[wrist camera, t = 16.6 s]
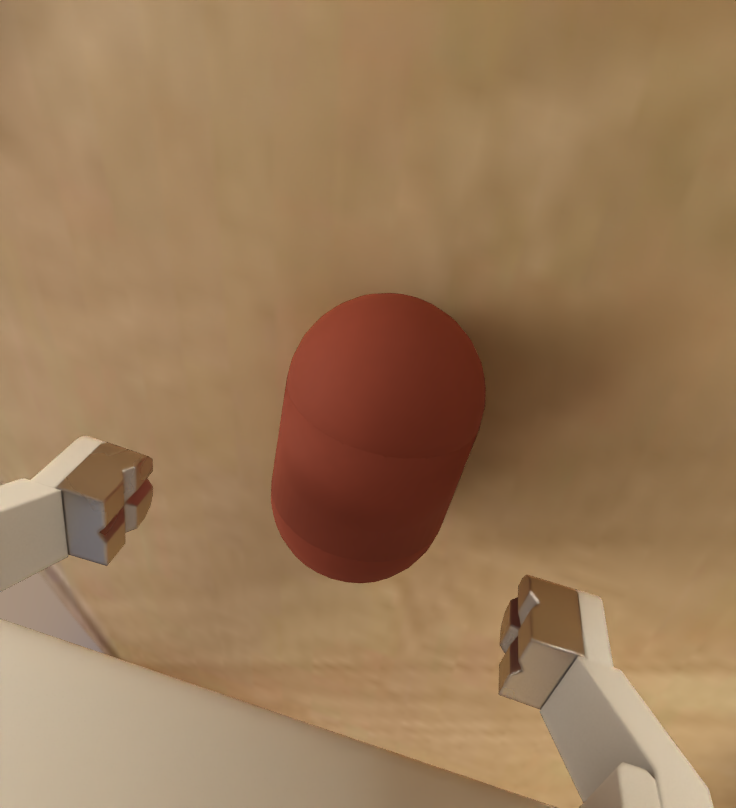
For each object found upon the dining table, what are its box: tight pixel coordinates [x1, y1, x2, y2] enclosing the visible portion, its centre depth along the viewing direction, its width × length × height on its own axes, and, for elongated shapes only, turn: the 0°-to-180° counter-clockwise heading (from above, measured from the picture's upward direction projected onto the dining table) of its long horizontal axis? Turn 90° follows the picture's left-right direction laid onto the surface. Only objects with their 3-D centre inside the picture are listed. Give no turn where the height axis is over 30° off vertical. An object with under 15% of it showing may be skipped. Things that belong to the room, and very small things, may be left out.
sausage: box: [271, 293, 486, 583], centre depth 15 cm, size 8×5×5 cm, turn 168°
